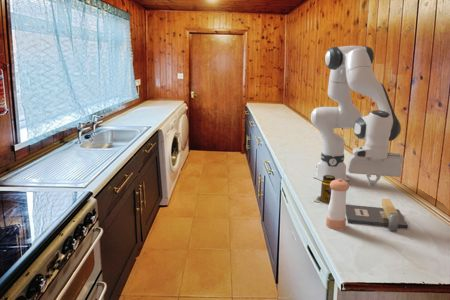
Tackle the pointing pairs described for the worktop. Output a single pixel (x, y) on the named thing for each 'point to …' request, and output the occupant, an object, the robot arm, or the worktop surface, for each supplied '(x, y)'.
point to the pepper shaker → (337, 205)
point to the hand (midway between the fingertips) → (372, 185)
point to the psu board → (371, 216)
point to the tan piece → (390, 214)
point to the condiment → (325, 190)
